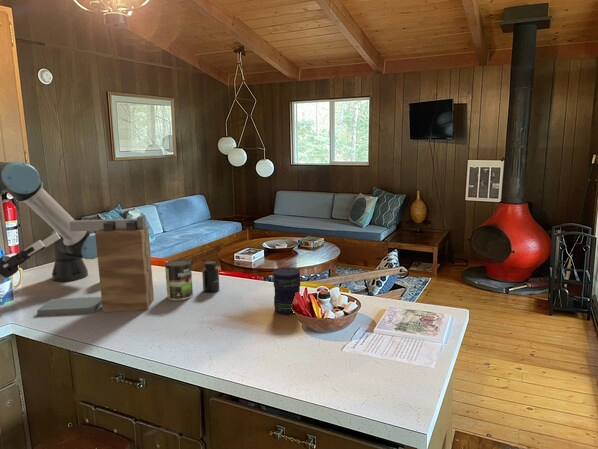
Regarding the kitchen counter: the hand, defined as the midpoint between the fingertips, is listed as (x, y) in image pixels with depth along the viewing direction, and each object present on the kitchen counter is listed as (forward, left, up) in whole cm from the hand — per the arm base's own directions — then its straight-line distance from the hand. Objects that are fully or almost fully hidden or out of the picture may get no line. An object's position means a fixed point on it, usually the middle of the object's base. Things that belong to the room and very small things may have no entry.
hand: (50, 238), depth 169 cm
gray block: (0, +5, -27) cm, 28 cm away
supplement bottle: (-14, +56, -27) cm, 64 cm away
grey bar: (0, +20, +3) cm, 20 cm away
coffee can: (-8, +44, -27) cm, 52 cm away
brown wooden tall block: (0, +26, -27) cm, 38 cm away
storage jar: (+14, +86, -27) cm, 91 cm away
